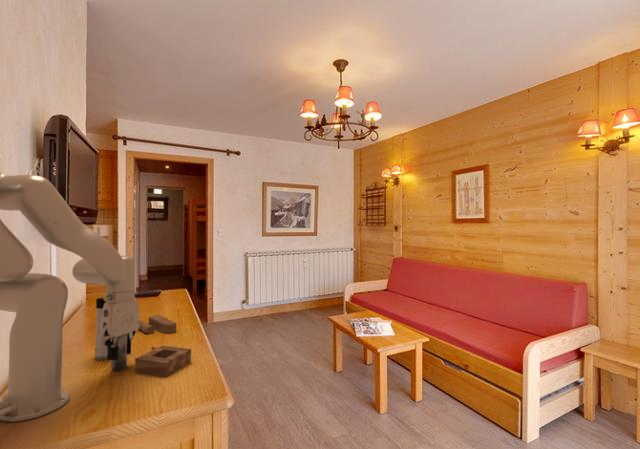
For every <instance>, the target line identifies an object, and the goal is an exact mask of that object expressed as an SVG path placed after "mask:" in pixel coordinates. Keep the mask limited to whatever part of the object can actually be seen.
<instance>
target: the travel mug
mask: <svg viewBox="0 0 640 449" xmlns="http://www.w3.org/2000/svg"><path fill="white" fill-rule="evenodd" d="M104 303H106V301H105V300H104V299H103V297H98V298H96V301H95V304H96V305H95V332H94V333H95V334H94V336H95V338H94V344H95V345H94V346H95V347H94V358H95V360H97V361H103V360H104V361H105V360H108V359H107V356H108V347H106V346H105V345H104V344H103V343H100V342H98V341H97V339H98V337H99V335H100V333H101V317H102V311H103V306H104ZM106 339H107V336H106ZM111 341H112V338H111Z"/></svg>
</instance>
